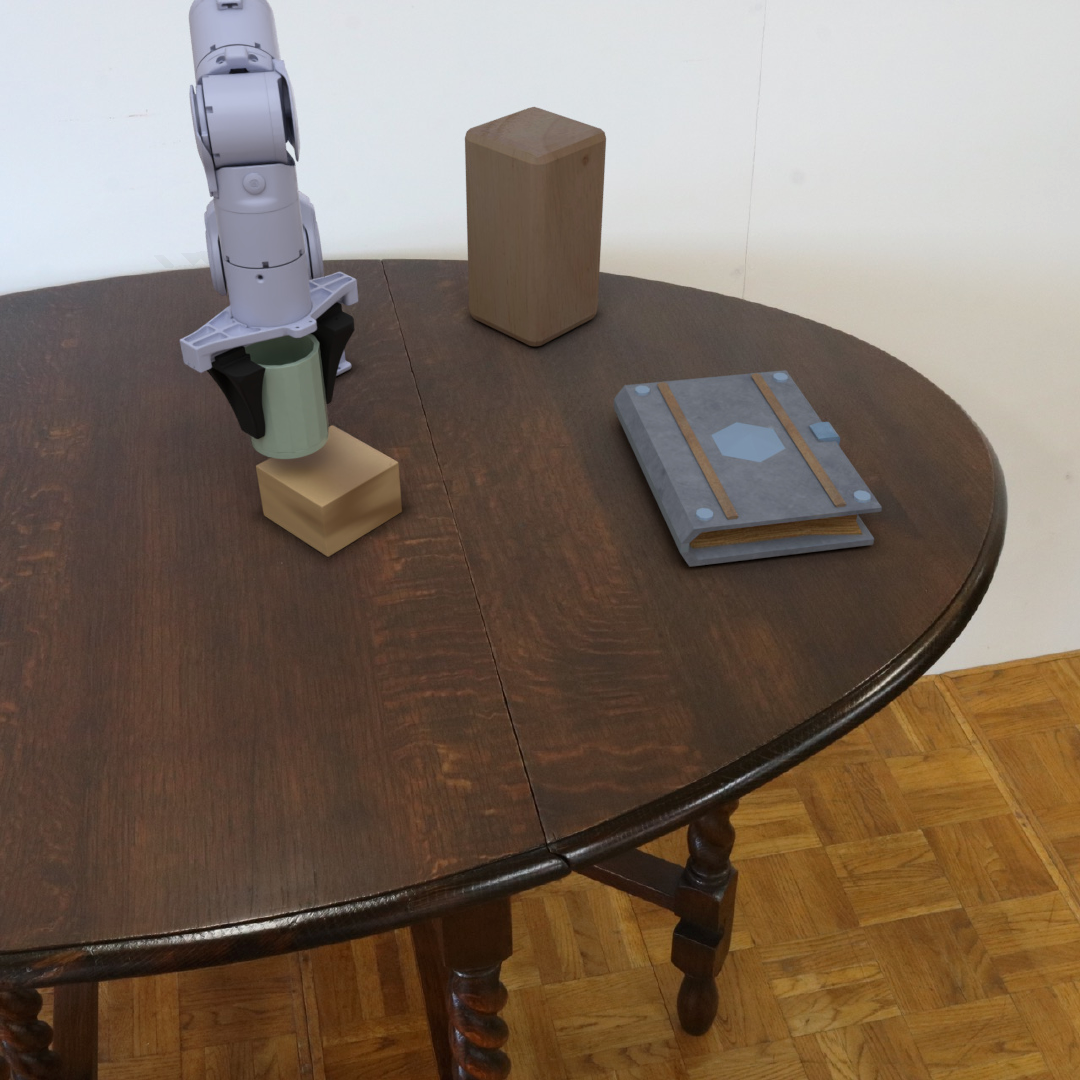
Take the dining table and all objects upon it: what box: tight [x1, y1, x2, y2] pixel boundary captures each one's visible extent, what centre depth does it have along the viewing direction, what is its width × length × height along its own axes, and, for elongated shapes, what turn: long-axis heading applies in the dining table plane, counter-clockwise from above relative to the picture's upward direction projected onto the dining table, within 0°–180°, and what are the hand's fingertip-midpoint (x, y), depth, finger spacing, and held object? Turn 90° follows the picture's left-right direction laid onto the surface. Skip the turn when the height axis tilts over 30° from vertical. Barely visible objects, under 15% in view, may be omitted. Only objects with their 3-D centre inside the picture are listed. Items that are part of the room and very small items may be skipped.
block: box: [255, 424, 403, 558], centre depth 96 cm, size 8×8×5 cm
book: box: [613, 369, 883, 567], centre depth 100 cm, size 21×16×5 cm
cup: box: [245, 333, 330, 459], centre depth 90 cm, size 6×6×8 cm
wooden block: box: [464, 106, 607, 347], centre depth 117 cm, size 10×10×20 cm
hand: (287, 415), depth 91 cm, fingers closed on cup, 6 cm apart
